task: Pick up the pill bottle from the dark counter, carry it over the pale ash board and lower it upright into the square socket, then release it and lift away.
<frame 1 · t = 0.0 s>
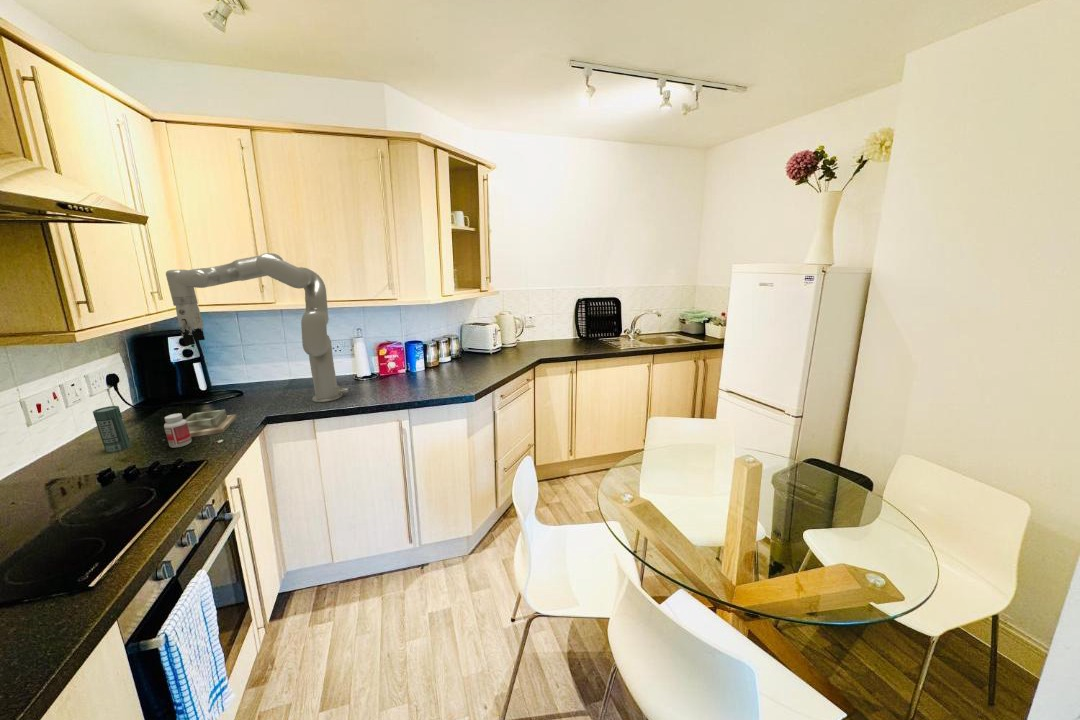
hand: (195, 342, 169), 31 cm above the table, tool pointing down, fingers open, 9 cm apart
pill bottle: (181, 444, 147), on the table
socket board: (206, 428, 161), on the table
can: (118, 449, 145), on the table
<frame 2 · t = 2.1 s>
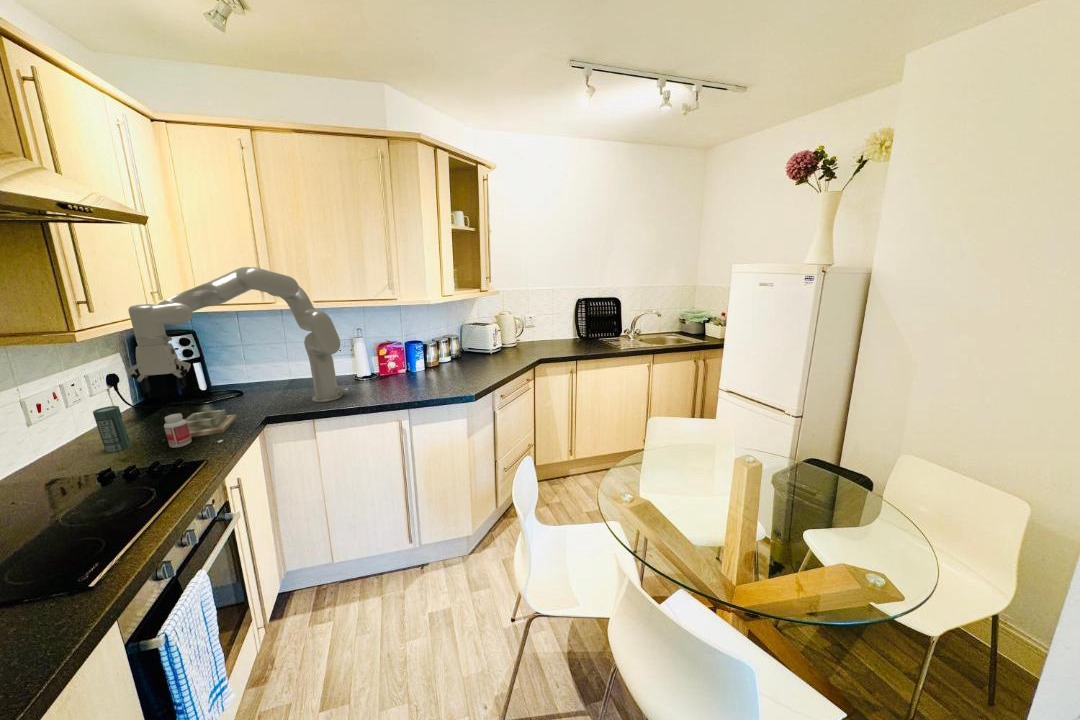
hand: (165, 389, 142), 21 cm above the table, tool pointing down, fingers open, 9 cm apart
nothing on the table moved.
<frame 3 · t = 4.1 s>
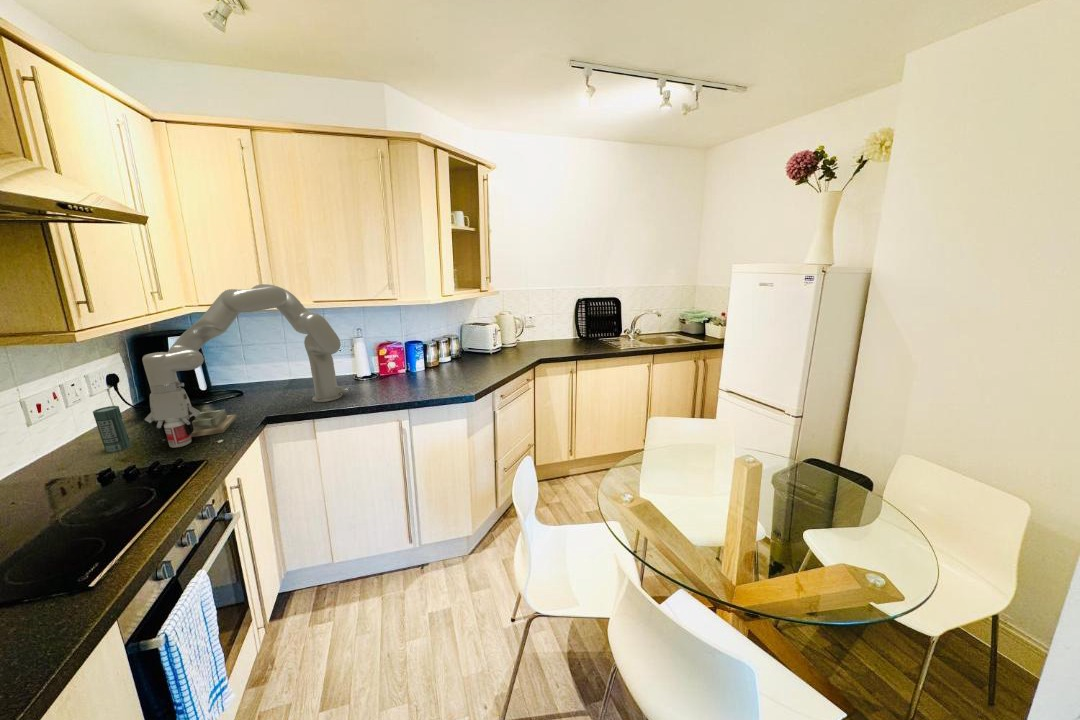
hand: (178, 434, 146), 4 cm above the table, tool pointing down, fingers closed on pill bottle, 6 cm apart
pill bottle: (181, 444, 147), on the table, touching gripper
everything else where it was.
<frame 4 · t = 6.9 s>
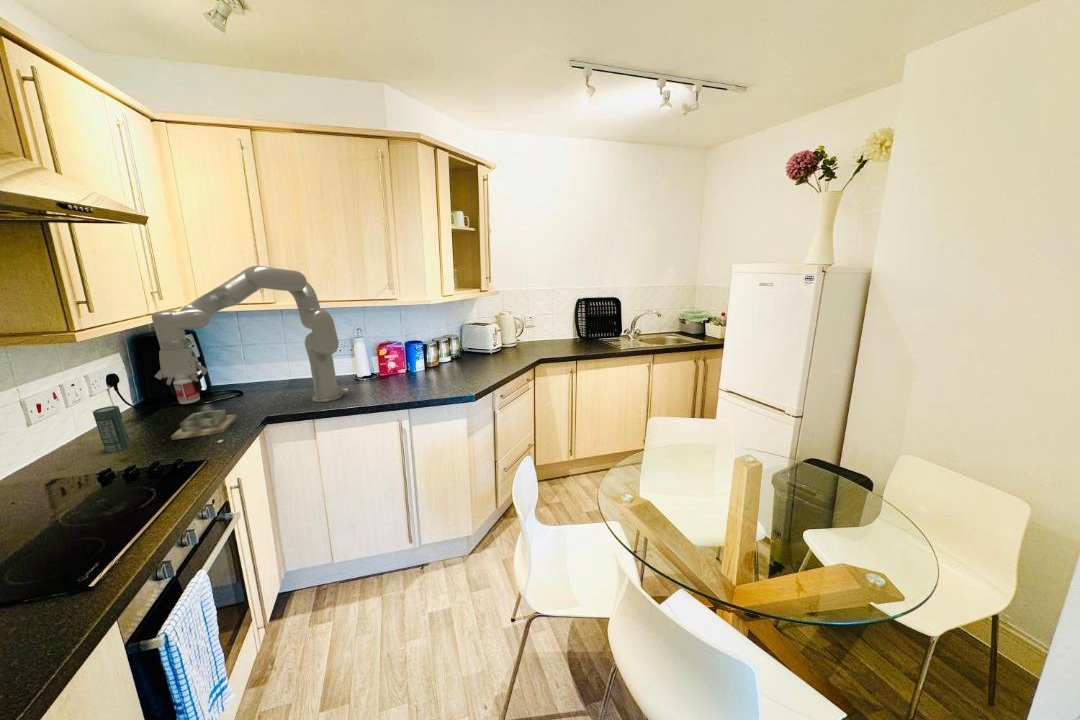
hand: (187, 392, 152), 17 cm above the table, tool pointing down, fingers closed on pill bottle, 6 cm apart
pill bottle: (190, 401, 153), point 13 cm above the table, touching gripper
everything else where it was.
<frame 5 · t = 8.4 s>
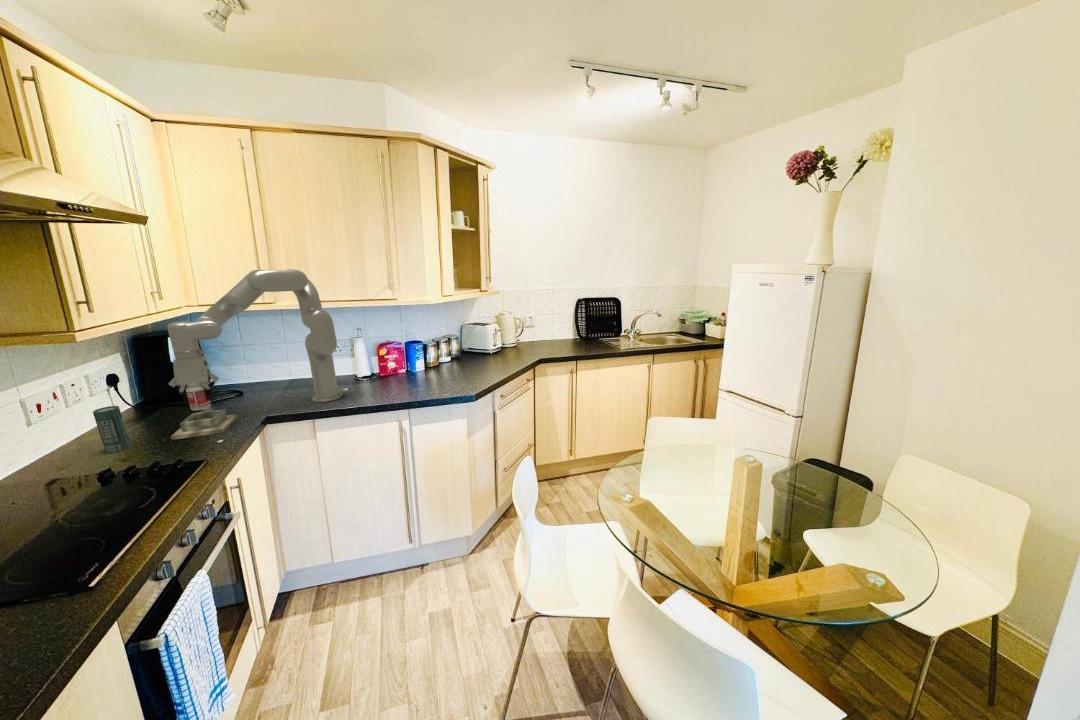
hand: (198, 399, 158), 12 cm above the table, tool pointing down, fingers closed on pill bottle, 6 cm apart
pill bottle: (201, 408, 159), point 8 cm above the table, touching gripper
everything else where it was.
when the fingers open (6 cm above the table, at t = 9.8 s): pill bottle drops 1 cm, resting on socket board.
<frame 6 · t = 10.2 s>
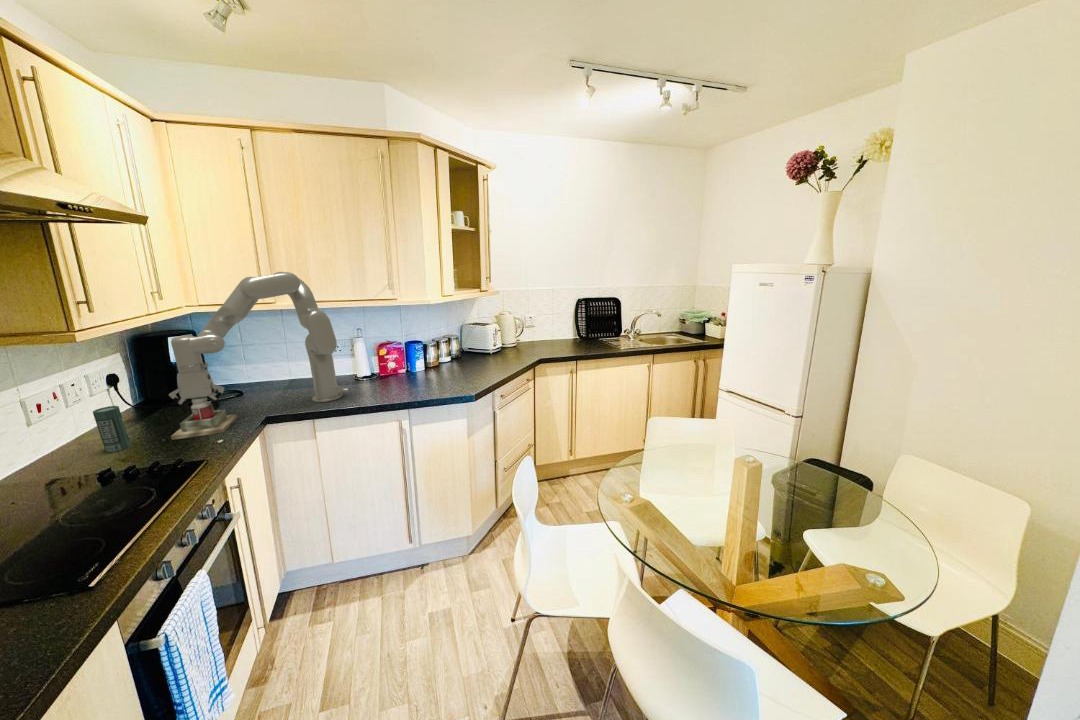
hand: (202, 410, 159), 7 cm above the table, tool pointing down, fingers open, 9 cm apart
pill bottle: (206, 424, 161), point 1 cm above the table, touching socket board
everything else where it was.
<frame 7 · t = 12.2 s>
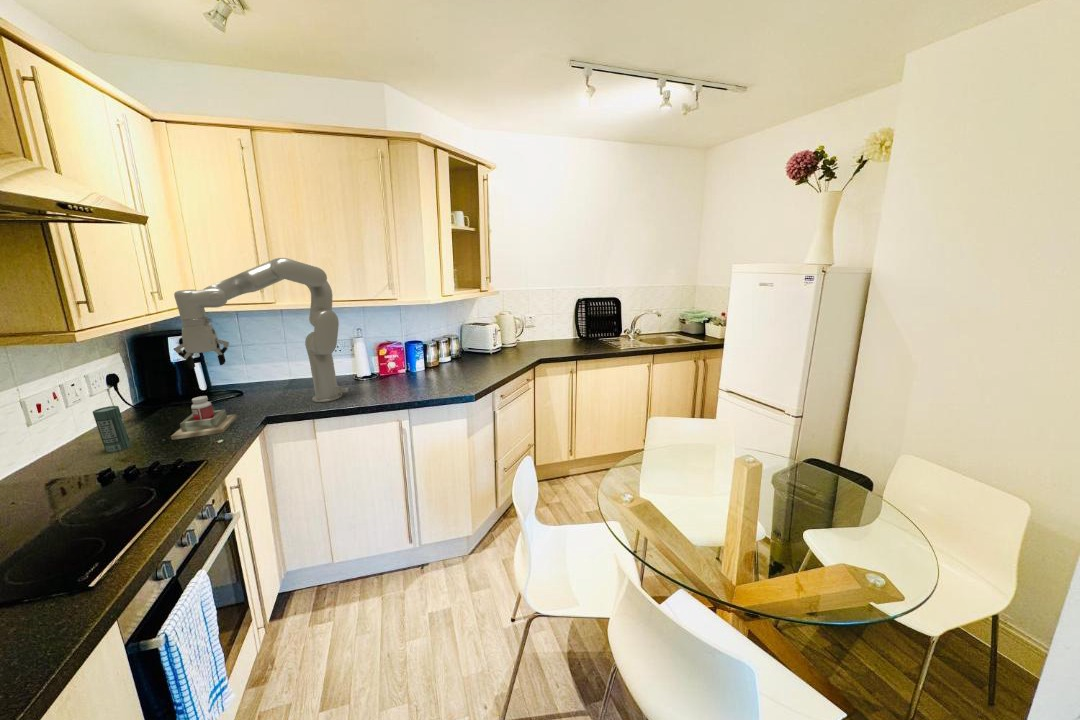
hand: (207, 366, 159), 24 cm above the table, tool pointing down, fingers open, 9 cm apart
nothing on the table moved.
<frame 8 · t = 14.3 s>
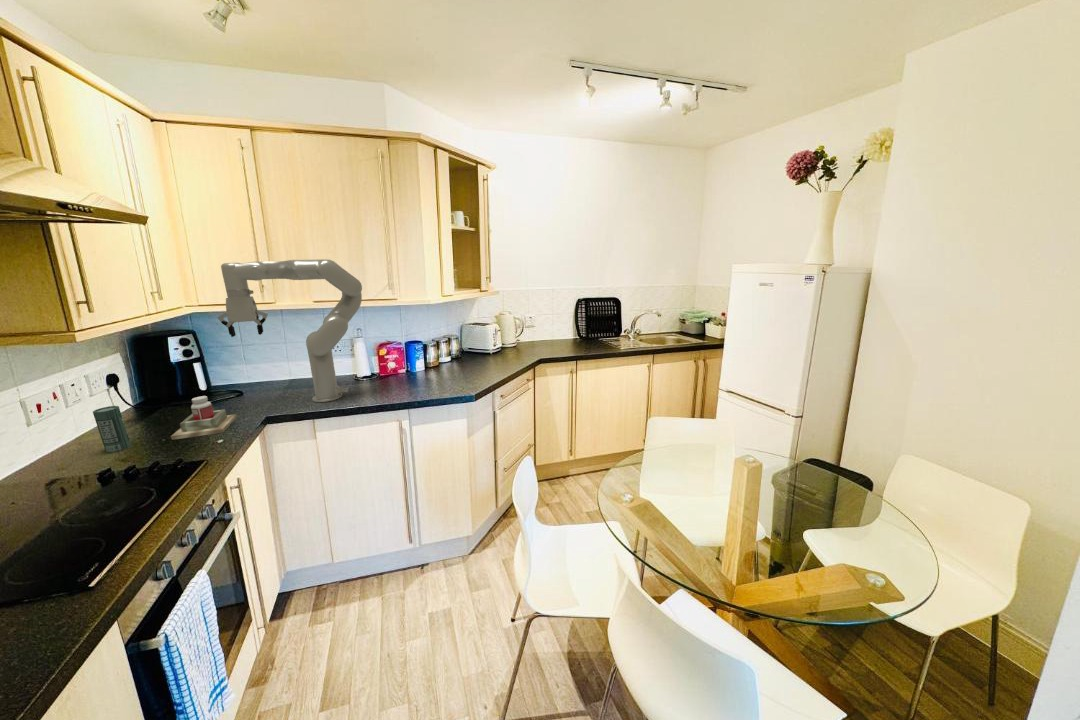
hand: (247, 335, 170), 33 cm above the table, tool pointing down, fingers open, 9 cm apart
nothing on the table moved.
at the end: pill bottle 0.1 cm off-centre on the socket board, point 1.3 cm above the socket board's base; pill bottle tilted 0°; the gripper is holding nothing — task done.
